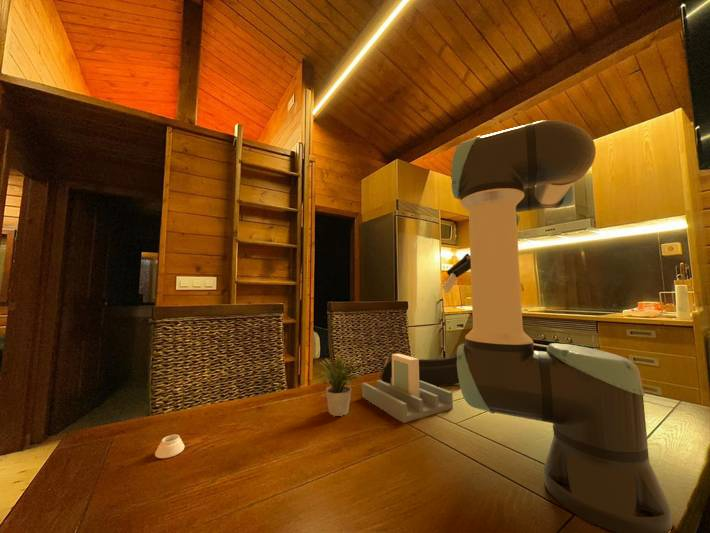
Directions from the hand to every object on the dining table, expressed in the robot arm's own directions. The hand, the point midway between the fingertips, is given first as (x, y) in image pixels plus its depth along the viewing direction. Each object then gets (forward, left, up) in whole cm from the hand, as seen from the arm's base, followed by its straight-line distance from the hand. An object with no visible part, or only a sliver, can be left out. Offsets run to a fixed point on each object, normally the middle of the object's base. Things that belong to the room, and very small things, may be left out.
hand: (462, 289), depth 85 cm
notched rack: (-9, +15, -34) cm, 38 cm away
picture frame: (-9, +15, -32) cm, 37 cm away
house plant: (-28, +25, -34) cm, 51 cm away
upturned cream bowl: (-63, +39, -34) cm, 82 cm away
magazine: (+10, +19, -34) cm, 40 cm away
